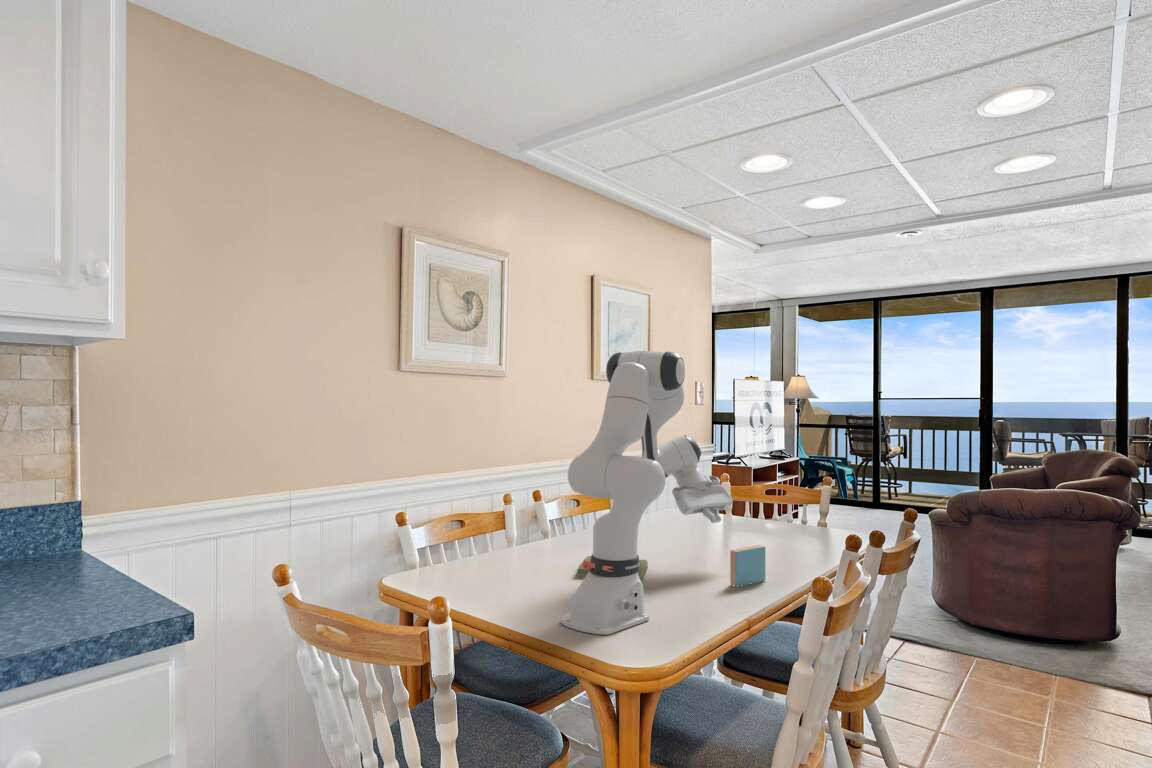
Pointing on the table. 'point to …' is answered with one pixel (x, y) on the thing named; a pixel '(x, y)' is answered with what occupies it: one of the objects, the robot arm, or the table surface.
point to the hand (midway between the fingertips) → (717, 521)
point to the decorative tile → (642, 571)
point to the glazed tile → (747, 565)
